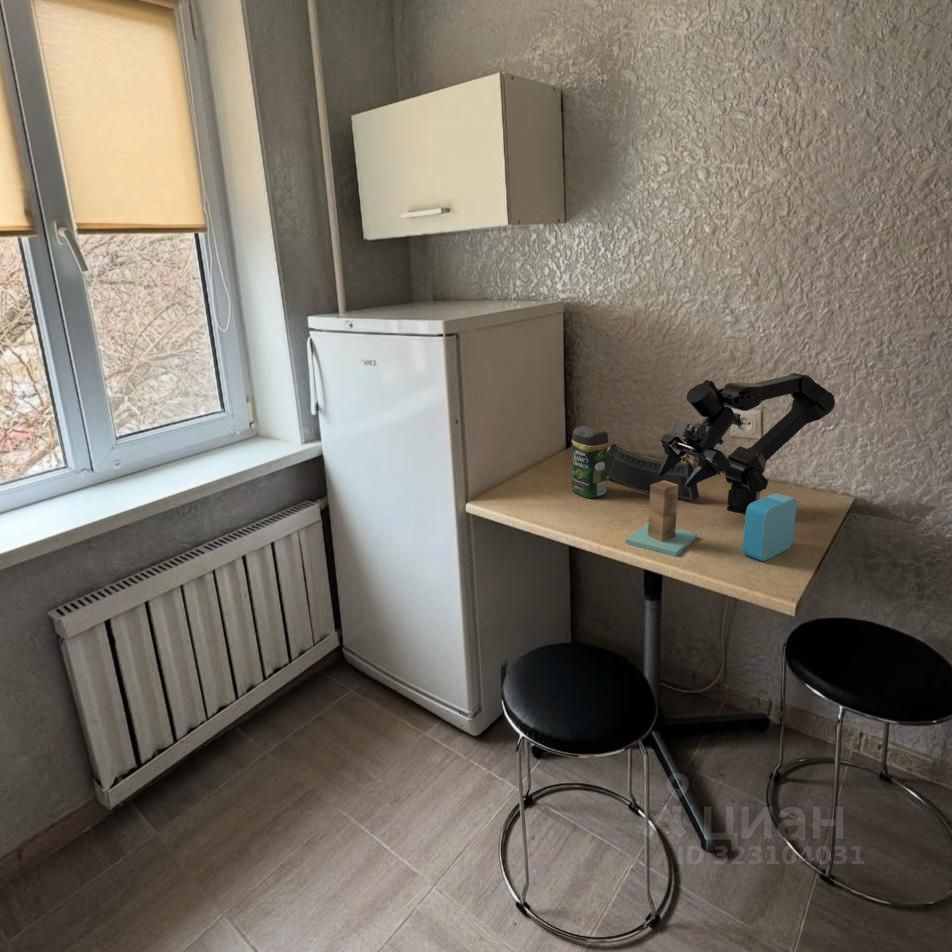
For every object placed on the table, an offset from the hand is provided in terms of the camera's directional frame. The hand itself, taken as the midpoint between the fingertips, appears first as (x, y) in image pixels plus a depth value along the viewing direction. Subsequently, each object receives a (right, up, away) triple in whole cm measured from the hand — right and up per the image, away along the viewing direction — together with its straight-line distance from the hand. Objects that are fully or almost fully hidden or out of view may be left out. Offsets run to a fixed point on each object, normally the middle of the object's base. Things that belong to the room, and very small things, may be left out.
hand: (672, 480), depth 154 cm
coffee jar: (-15, -4, +27) cm, 31 cm away
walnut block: (-4, -13, -4) cm, 14 cm away
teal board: (-4, -14, -4) cm, 15 cm away
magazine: (+1, -3, +28) cm, 28 cm away
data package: (+17, -16, -11) cm, 26 cm away
